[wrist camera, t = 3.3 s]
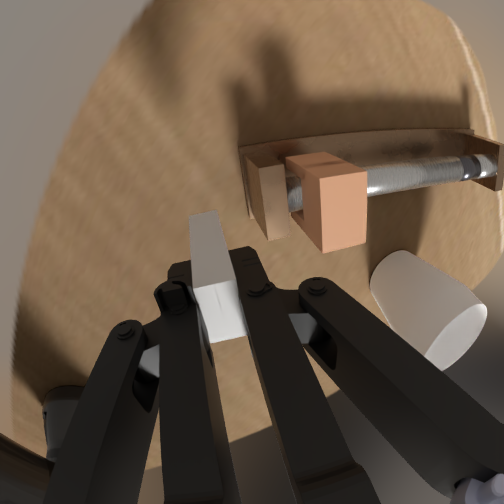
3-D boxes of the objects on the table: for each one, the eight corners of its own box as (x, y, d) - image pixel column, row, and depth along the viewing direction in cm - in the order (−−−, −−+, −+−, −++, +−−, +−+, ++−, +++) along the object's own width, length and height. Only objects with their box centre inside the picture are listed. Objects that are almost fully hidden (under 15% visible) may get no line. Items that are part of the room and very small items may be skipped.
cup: (381, 233, 29) (458, 300, 19) (431, 246, 32) (499, 303, 22) (347, 304, 33) (402, 382, 23) (400, 307, 36) (453, 370, 26)
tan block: (291, 216, 23) (322, 253, 18) (285, 157, 20) (319, 178, 15) (327, 209, 23) (365, 242, 18) (324, 151, 21) (367, 171, 16)
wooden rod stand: (249, 216, 26) (266, 248, 21) (238, 146, 23) (254, 161, 18) (467, 177, 29) (502, 194, 24) (470, 128, 26) (507, 140, 21)
